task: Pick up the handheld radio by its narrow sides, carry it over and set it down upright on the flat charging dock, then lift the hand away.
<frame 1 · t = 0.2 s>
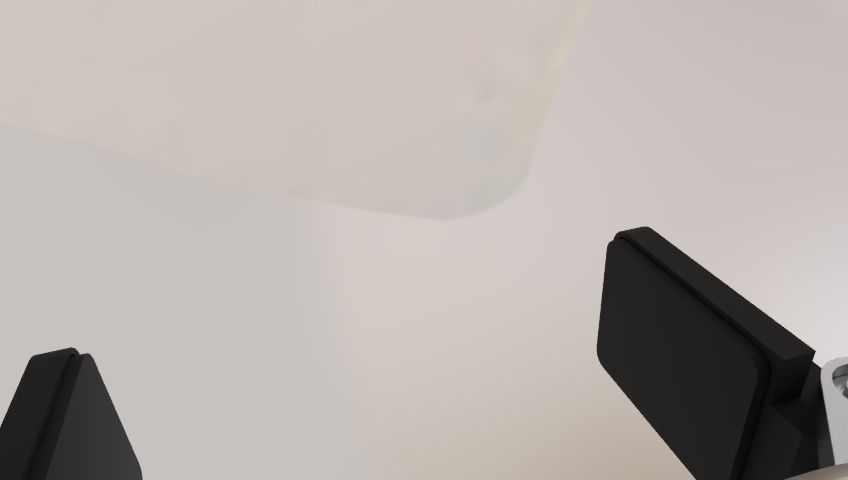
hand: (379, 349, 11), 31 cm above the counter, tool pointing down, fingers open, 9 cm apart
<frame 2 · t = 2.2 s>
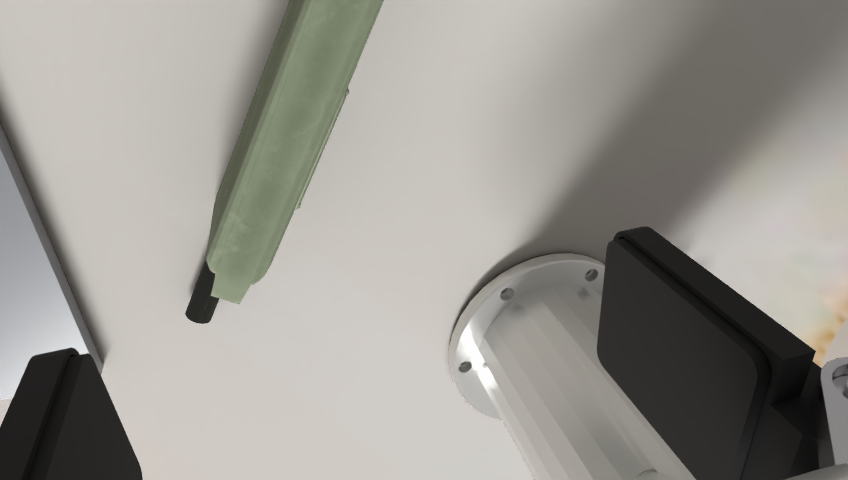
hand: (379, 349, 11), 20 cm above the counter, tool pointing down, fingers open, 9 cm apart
handheld radio: (283, 84, 28), on the counter
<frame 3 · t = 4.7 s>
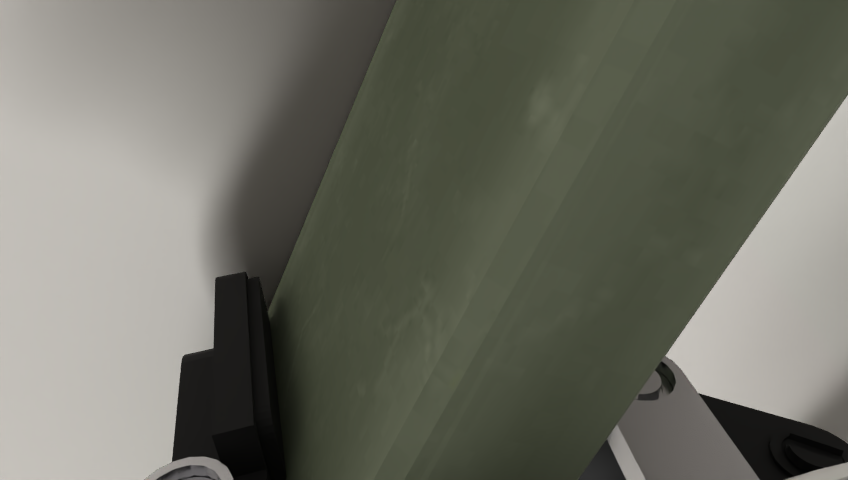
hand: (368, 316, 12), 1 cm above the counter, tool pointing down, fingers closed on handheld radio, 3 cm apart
handheld radio: (326, 286, 12), on the counter, touching gripper
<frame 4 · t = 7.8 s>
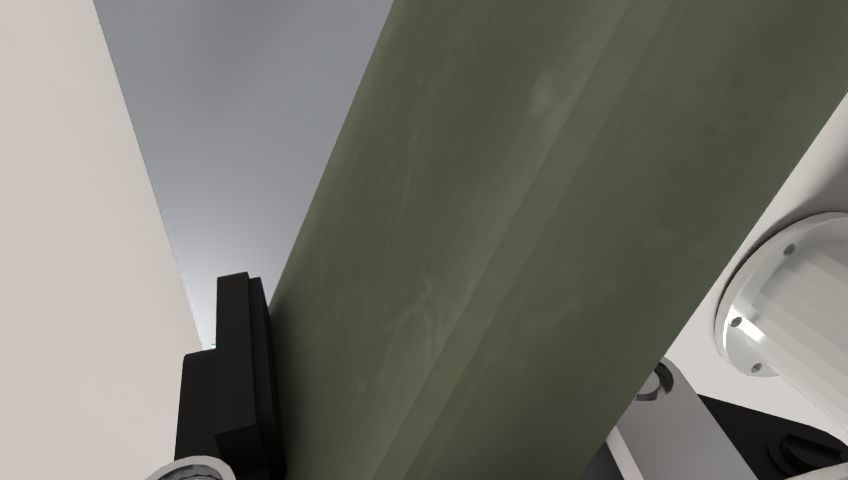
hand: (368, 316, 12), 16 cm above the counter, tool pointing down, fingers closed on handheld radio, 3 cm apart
charging dock: (287, 98, 25), on the counter
handheld radio: (326, 283, 12), point 15 cm above the counter, touching gripper
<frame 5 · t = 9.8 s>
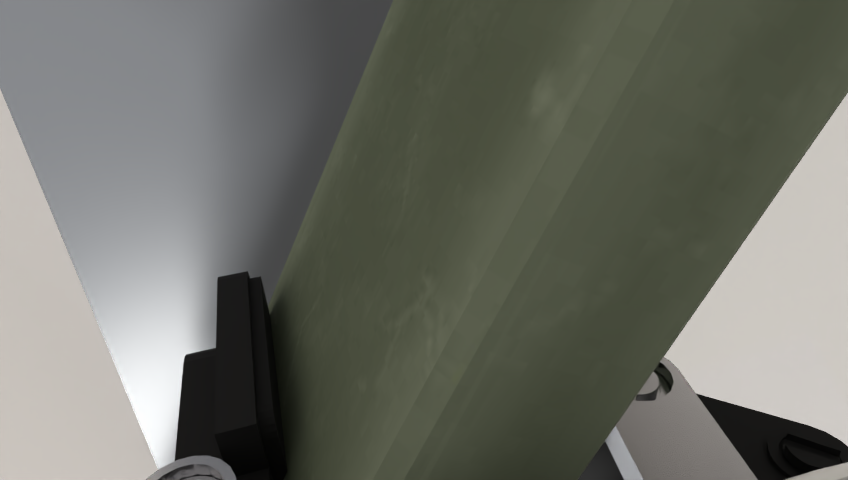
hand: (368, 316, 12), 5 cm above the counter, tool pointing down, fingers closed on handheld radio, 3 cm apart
charging dock: (335, 216, 16), on the counter
handheld radio: (325, 283, 12), point 4 cm above the counter, touching gripper
when the fingers open (3 cm above the counter, at t = 10.9 s): handheld radio drops 1 cm, resting on charging dock.
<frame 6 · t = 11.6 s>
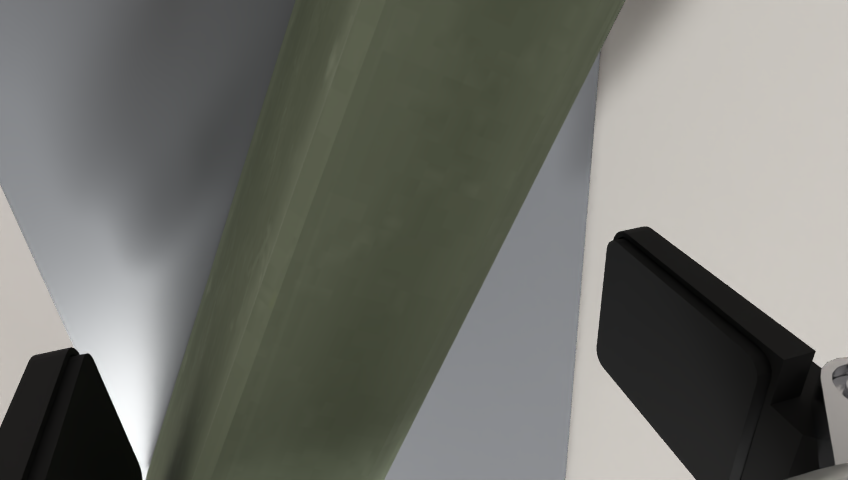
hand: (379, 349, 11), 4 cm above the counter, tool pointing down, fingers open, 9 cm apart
charging dock: (341, 241, 14), on the counter
handheld radio: (265, 258, 13), point 1 cm above the counter, touching charging dock
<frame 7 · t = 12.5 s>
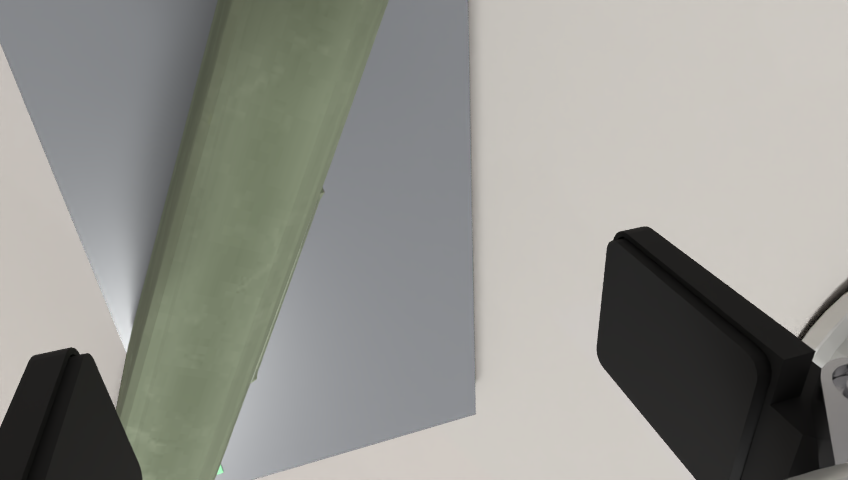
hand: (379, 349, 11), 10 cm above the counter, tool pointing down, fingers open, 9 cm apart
charging dock: (279, 148, 19), on the counter
handheld radio: (217, 155, 17), point 1 cm above the counter, touching charging dock
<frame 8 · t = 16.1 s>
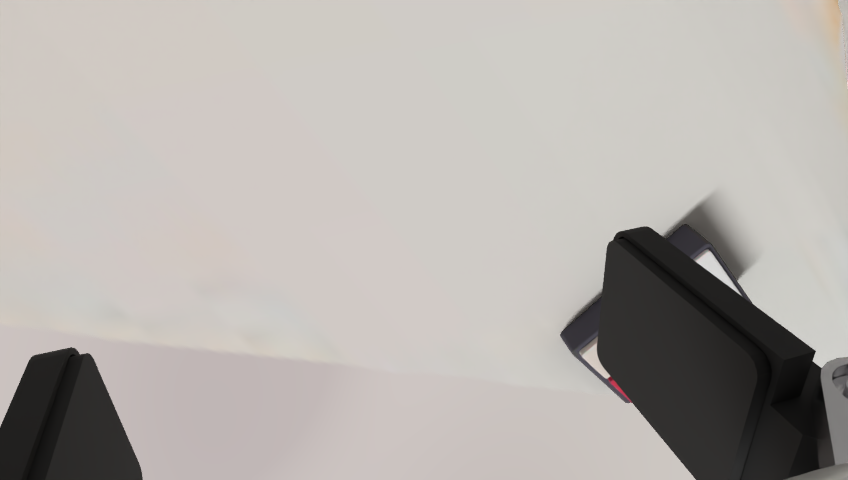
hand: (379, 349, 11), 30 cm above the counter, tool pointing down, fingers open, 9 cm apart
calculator: (643, 307, 57), on the counter
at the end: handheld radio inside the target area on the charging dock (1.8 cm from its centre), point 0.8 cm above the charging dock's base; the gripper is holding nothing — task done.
